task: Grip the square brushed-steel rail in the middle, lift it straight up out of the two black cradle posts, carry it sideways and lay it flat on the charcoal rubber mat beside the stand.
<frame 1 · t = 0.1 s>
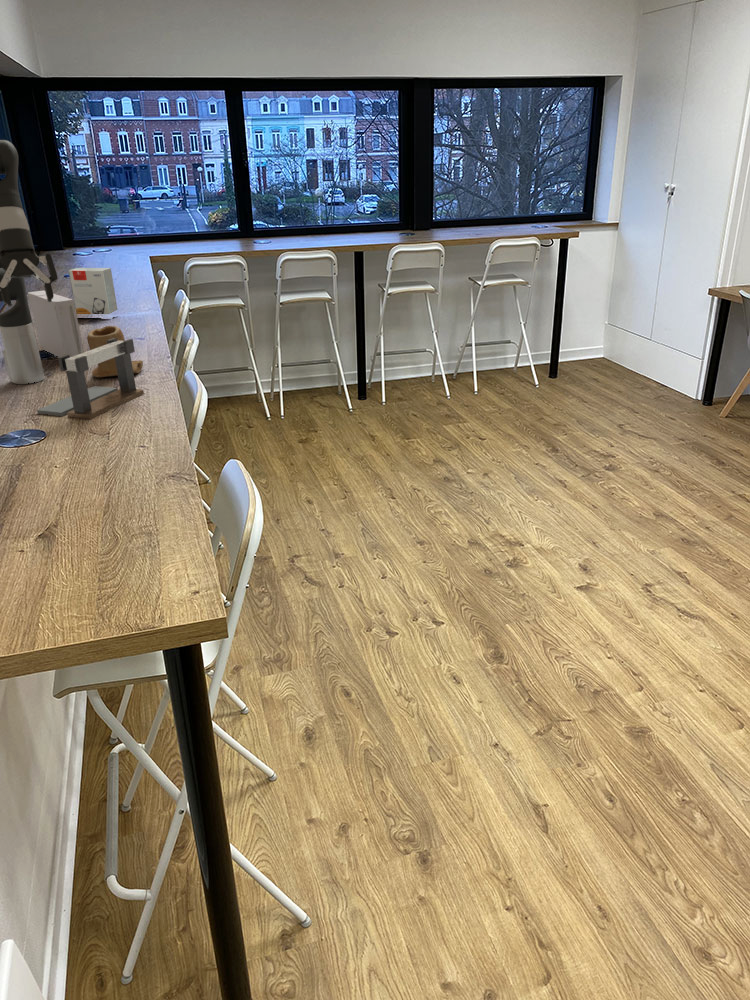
hand: (30, 303, 171), 31 cm above the table, tool tilted 20°, fingers open, 8 cm apart
game console: (61, 355, 259), on the table
clay boot vase: (118, 376, 232), on the table
hard drive box: (98, 318, 317), on the table
rubber mat: (79, 402, 208), on the table
steel rail: (99, 360, 199), point 12 cm above the table, touching cradle stand
cradle stand: (107, 404, 205), on the table
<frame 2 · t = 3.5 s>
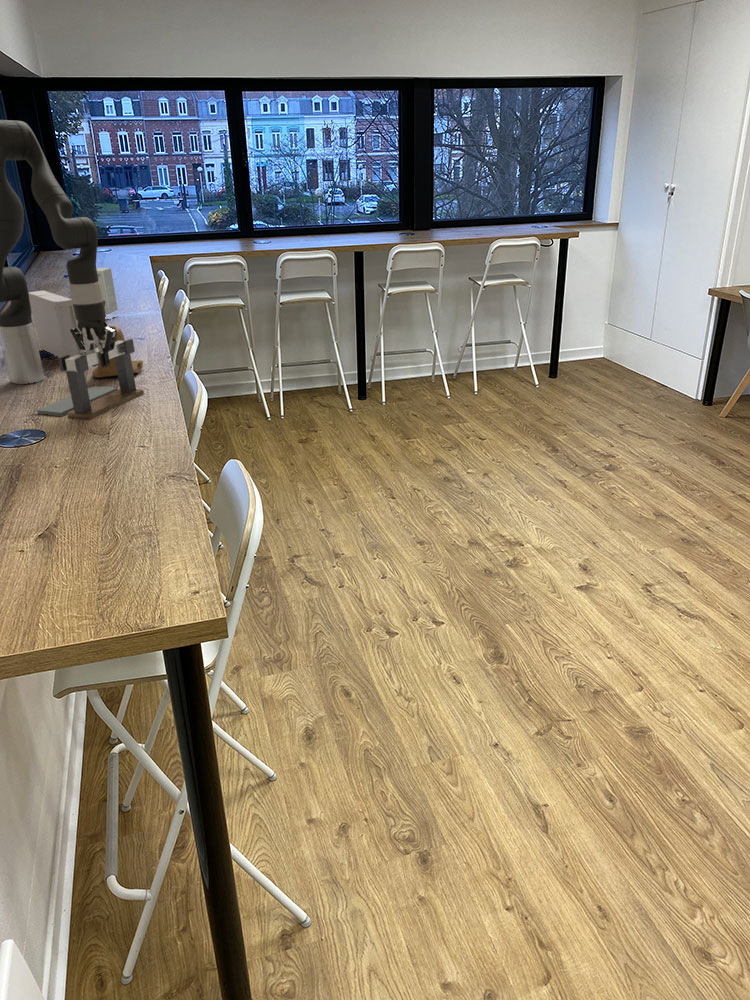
hand: (100, 365, 200), 11 cm above the table, tool pointing down, fingers closed on steel rail, 3 cm apart
steel rail: (99, 360, 199), point 12 cm above the table, touching cradle stand, gripper
everything else where it was.
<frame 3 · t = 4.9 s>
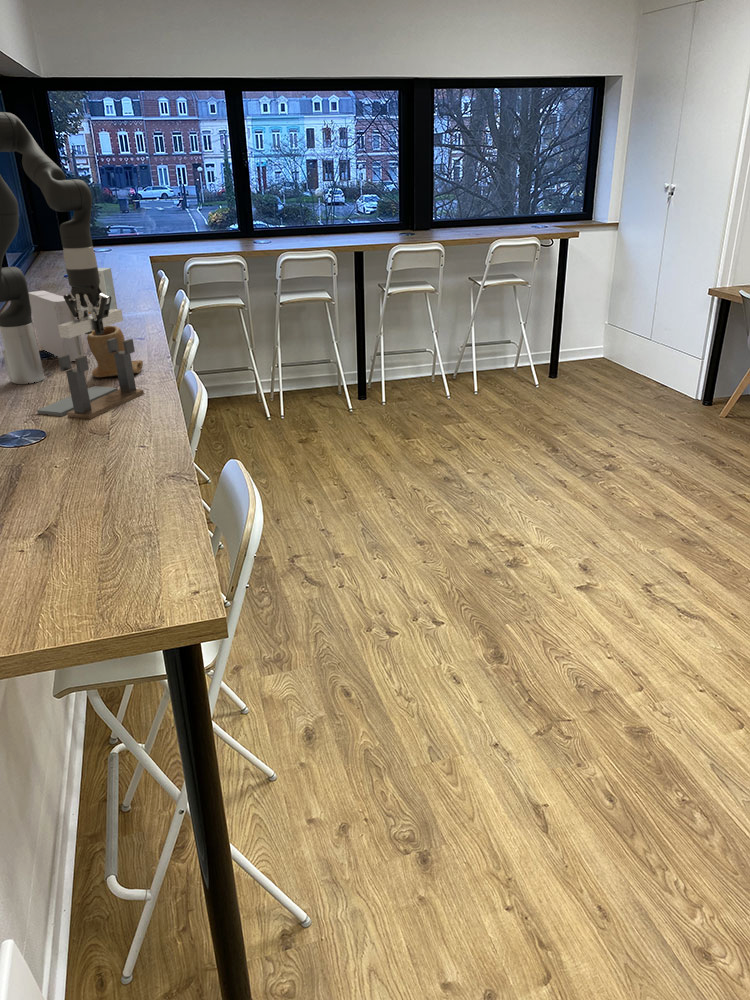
hand: (94, 333, 196), 19 cm above the table, tool pointing down, fingers closed on steel rail, 3 cm apart
steel rail: (93, 328, 196), point 21 cm above the table, touching gripper
everything else where it was.
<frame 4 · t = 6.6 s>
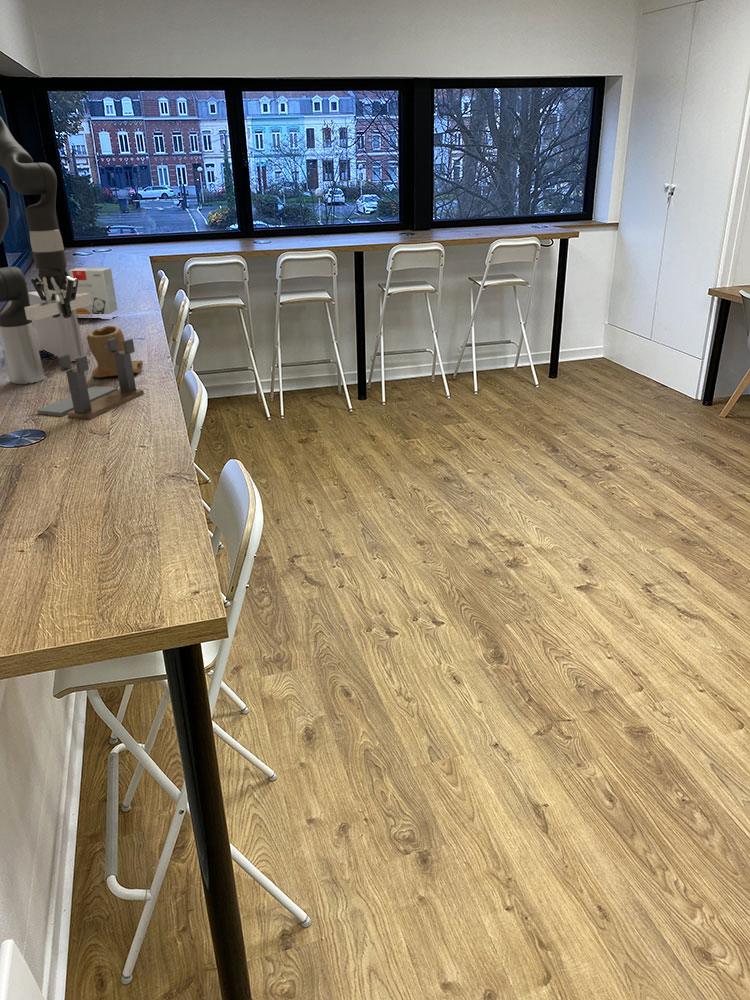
hand: (61, 317, 198), 23 cm above the table, tool pointing down, fingers closed on steel rail, 3 cm apart
steel rail: (60, 311, 197), point 25 cm above the table, touching gripper
everything else where it was.
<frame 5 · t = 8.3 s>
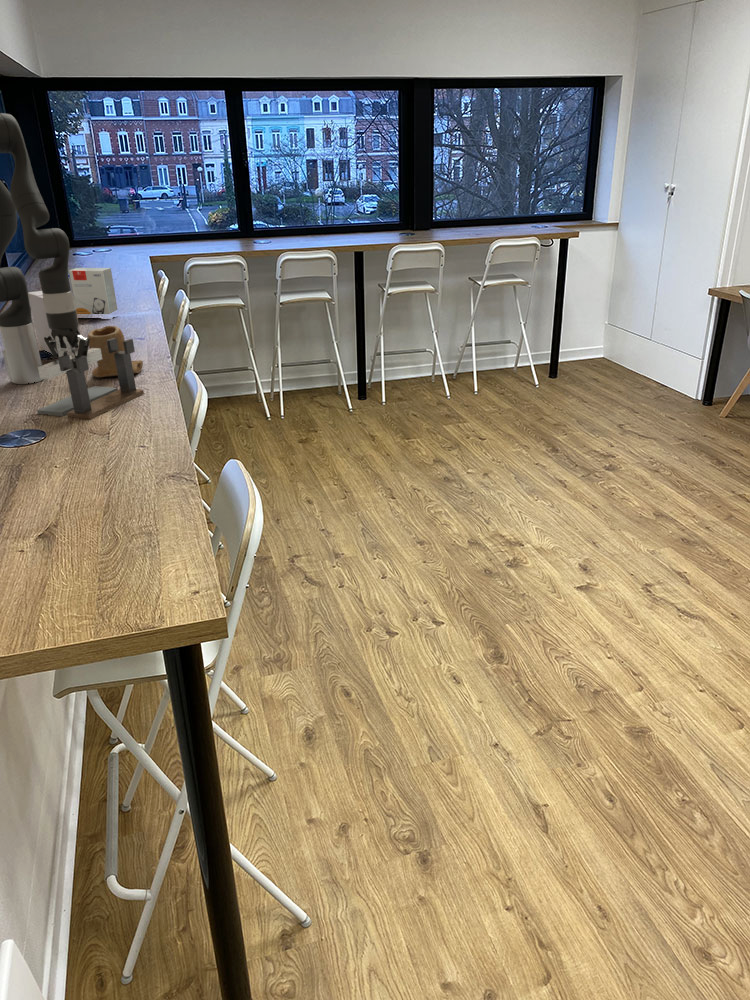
hand: (73, 373, 204), 8 cm above the table, tool pointing down, fingers closed on steel rail, 3 cm apart
steel rail: (72, 368, 204), point 10 cm above the table, touching gripper
everything else where it was.
when the fingers open (2 cm above the table, at t = 9.8 s): steel rail drops 2 cm, resting on rubber mat.
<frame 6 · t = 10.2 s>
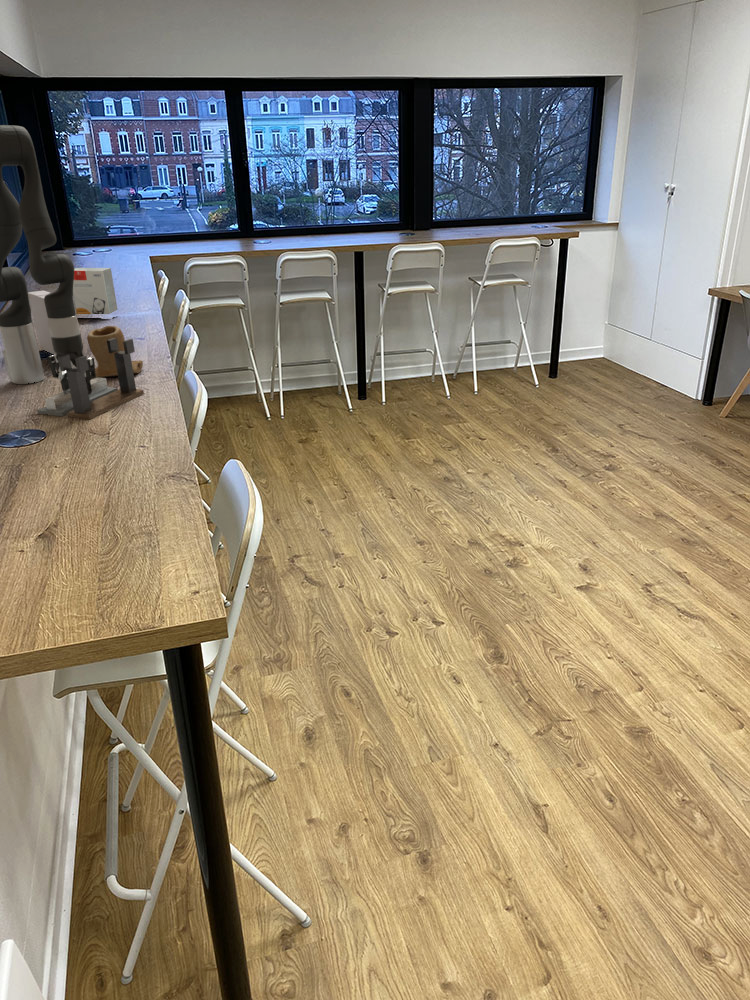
hand: (77, 393, 207), 2 cm above the table, tool pointing down, fingers open, 6 cm apart
steel rail: (78, 398, 207), point 1 cm above the table, touching rubber mat
everything else where it was.
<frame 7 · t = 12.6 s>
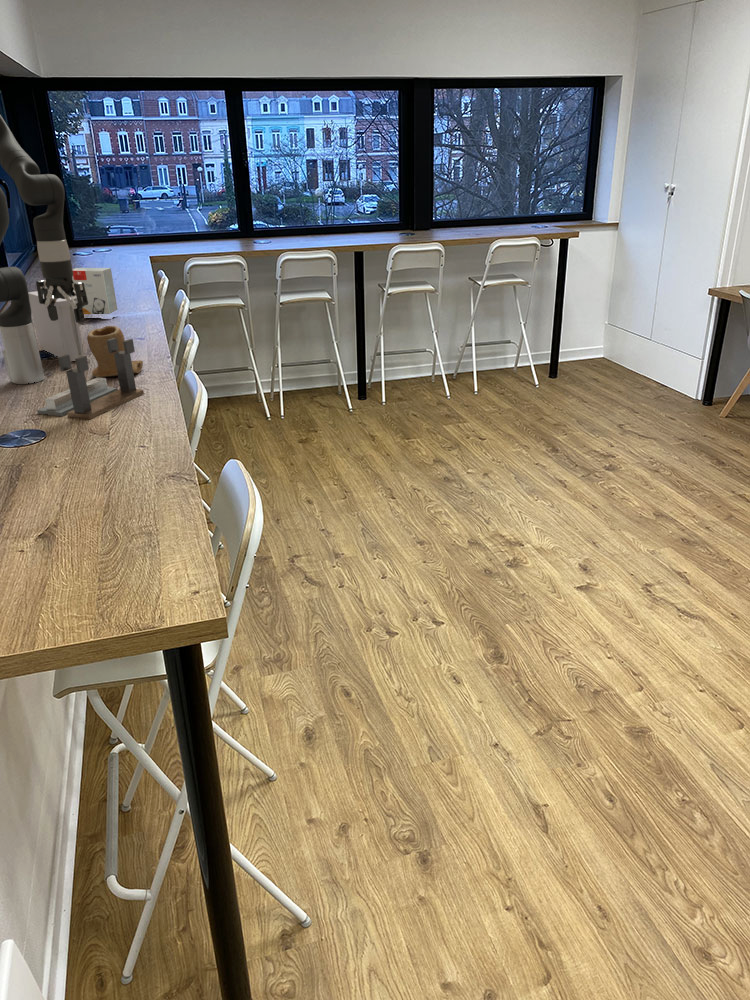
hand: (67, 321, 201), 22 cm above the table, tool pointing down, fingers open, 8 cm apart
nothing on the table moved.
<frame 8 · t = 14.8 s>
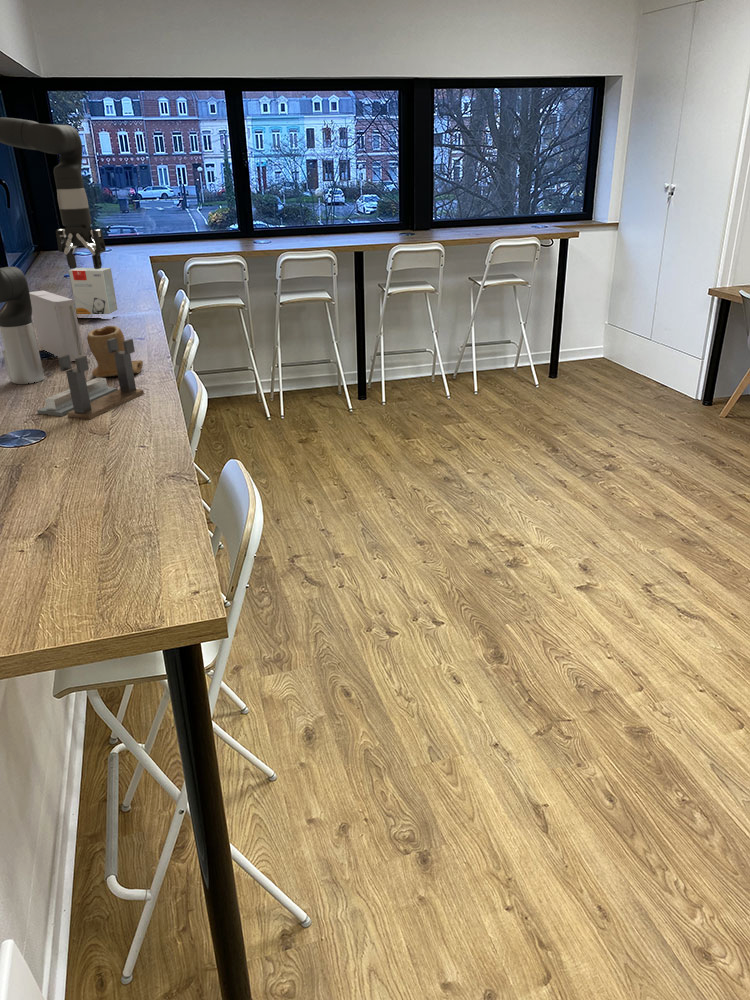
hand: (85, 268, 210), 33 cm above the table, tool pointing down, fingers open, 8 cm apart
nothing on the table moved.
at the end: steel rail inside the target area on the rubber mat (0.0 cm from its centre), point 1.0 cm above the rubber mat's base; the gripper is holding nothing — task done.
